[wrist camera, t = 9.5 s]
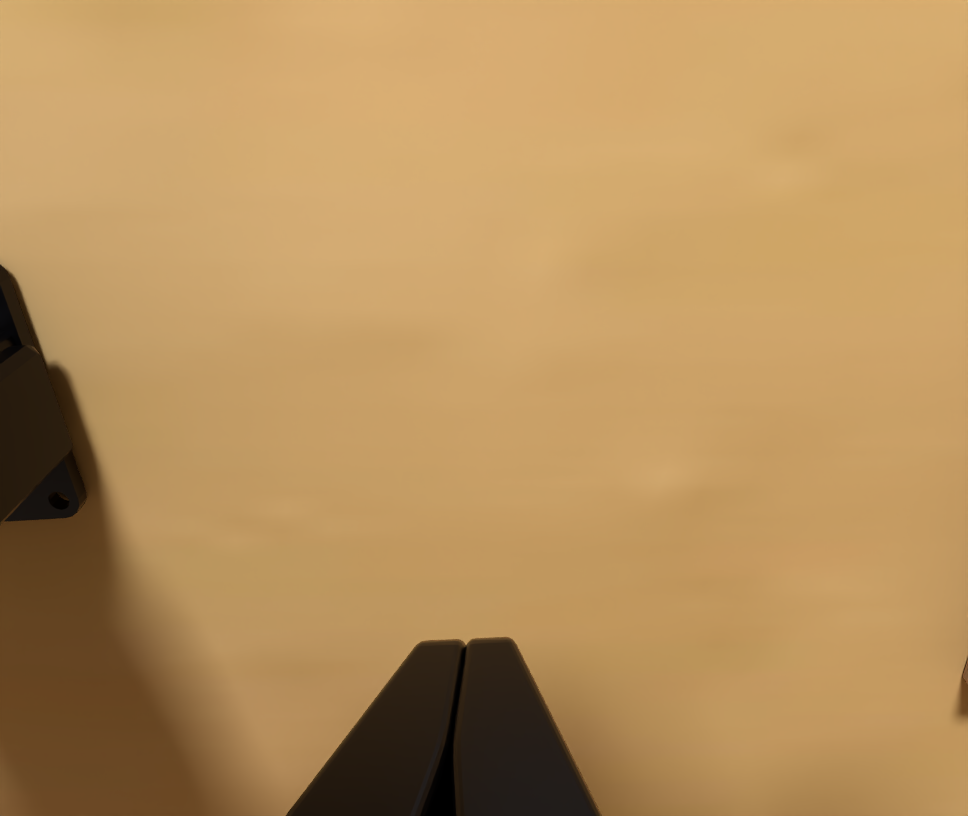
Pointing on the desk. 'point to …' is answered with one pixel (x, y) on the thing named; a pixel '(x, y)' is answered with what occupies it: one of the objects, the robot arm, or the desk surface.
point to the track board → (966, 673)
